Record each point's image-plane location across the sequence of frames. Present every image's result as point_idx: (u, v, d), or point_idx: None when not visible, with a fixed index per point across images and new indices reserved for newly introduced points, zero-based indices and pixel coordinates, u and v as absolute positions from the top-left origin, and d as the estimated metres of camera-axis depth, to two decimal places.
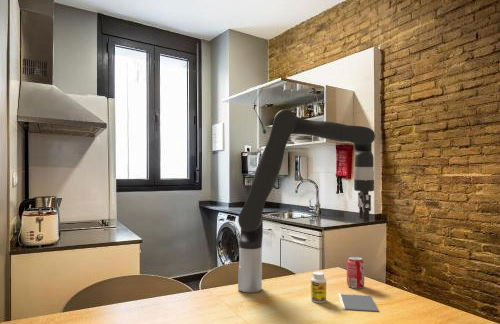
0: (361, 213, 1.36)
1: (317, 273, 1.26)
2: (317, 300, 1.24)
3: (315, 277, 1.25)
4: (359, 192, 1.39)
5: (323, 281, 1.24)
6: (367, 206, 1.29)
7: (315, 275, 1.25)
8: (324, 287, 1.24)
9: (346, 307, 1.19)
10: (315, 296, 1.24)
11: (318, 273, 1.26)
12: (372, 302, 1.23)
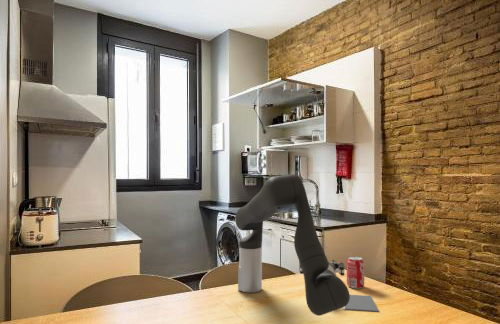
0: None
1: None
2: None
3: None
4: (342, 269, 1.04)
5: None
6: None
7: None
8: None
9: (346, 307, 1.19)
10: None
11: None
12: (372, 302, 1.23)
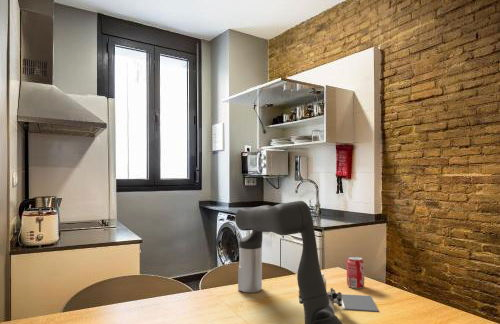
0: (331, 291, 1.18)
1: None
2: None
3: None
4: (340, 300, 1.09)
5: None
6: None
7: None
8: None
9: (346, 307, 1.19)
10: None
11: None
12: (372, 302, 1.23)
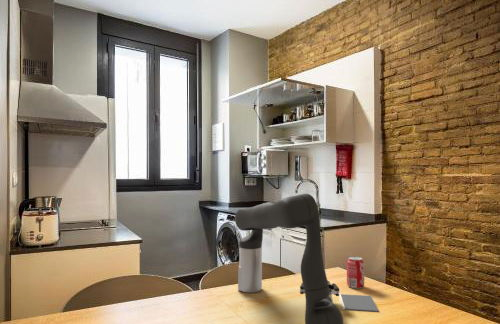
0: None
1: None
2: None
3: None
4: (338, 290, 1.18)
5: None
6: None
7: None
8: None
9: (346, 307, 1.19)
10: None
11: None
12: (372, 302, 1.23)
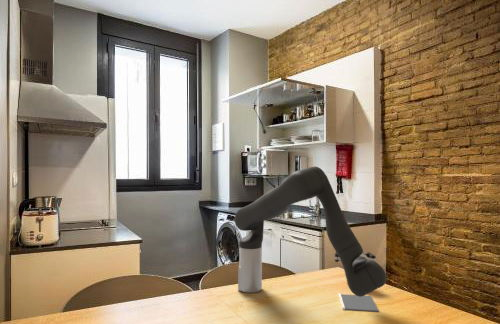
0: None
1: None
2: None
3: None
4: (374, 257, 1.15)
5: None
6: None
7: None
8: None
9: (346, 307, 1.19)
10: None
11: None
12: (372, 302, 1.23)
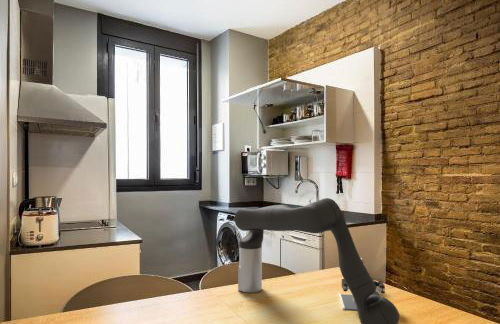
0: None
1: None
2: None
3: None
4: (383, 287, 1.15)
5: None
6: None
7: None
8: None
9: (346, 307, 1.19)
10: None
11: None
12: None
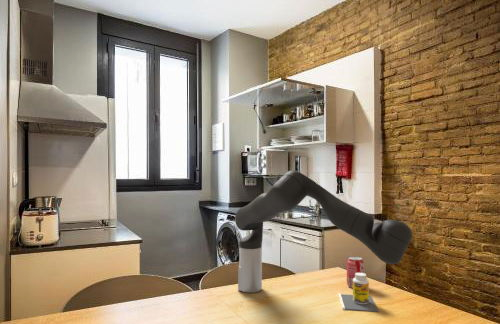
0: None
1: (359, 274, 1.24)
2: (360, 301, 1.21)
3: (357, 278, 1.23)
4: None
5: (366, 282, 1.22)
6: None
7: (357, 276, 1.23)
8: (367, 288, 1.22)
9: (346, 307, 1.19)
10: (357, 297, 1.22)
11: (360, 274, 1.24)
12: (372, 302, 1.23)
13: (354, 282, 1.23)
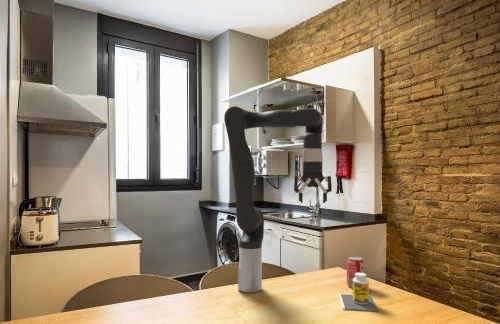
0: None
1: (359, 274, 1.24)
2: (361, 301, 1.21)
3: (357, 278, 1.23)
4: None
5: (366, 282, 1.22)
6: None
7: (357, 276, 1.23)
8: (367, 288, 1.22)
9: (346, 307, 1.19)
10: (357, 297, 1.22)
11: (360, 274, 1.24)
12: (372, 302, 1.23)
13: (354, 282, 1.23)
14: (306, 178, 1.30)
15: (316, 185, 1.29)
